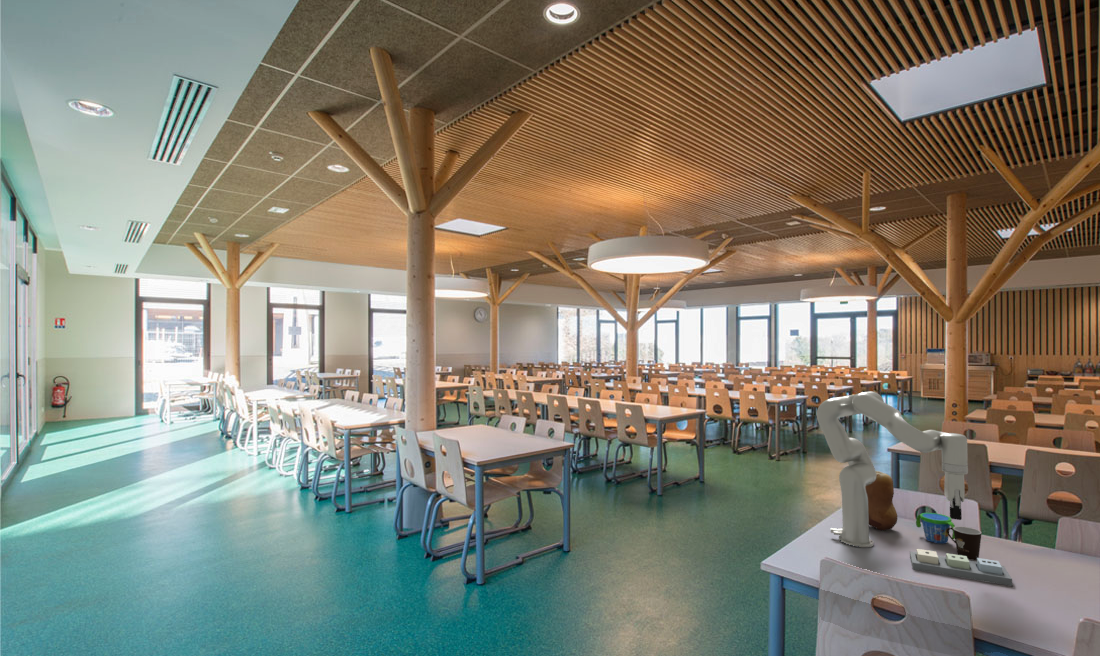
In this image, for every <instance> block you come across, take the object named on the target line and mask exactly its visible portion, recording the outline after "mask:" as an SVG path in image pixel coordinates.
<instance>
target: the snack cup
mask: <svg viewBox="0 0 1100 656" xmlns="http://www.w3.org/2000/svg"><path fill="white" fill-rule="evenodd" d="M921 522H922V524H921ZM915 525H916V527H917V528H921V527H923V533H924V538H925V540H926V541H928V542H930V543H934V544H944V545H945V544H947V543H948V541H949V538H950V537H949V535H948V534H947V529H948V528H954V527H956V526H955V524H954V523H953V522H952V519H951V518H950V516H948V515H946V514H941V513H937V512H936V513H935V512H922V513H920V514H918V515H917V517H916V519H915ZM951 530H952V529H951ZM951 532H952V535H951V537H952V538H953V539H954V540H955V536H954V531H953V530H952V531H951Z"/></svg>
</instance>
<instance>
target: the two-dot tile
mask: <svg viewBox="0 0 1100 656" xmlns="http://www.w3.org/2000/svg"><path fill="white" fill-rule="evenodd" d="M945 557H946V564H947V566H951V567H957V568H963V569H970V562H969V560H970V559H968V558H967V556H962V555H958V554H953V553H945Z"/></svg>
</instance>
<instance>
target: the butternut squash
mask: <svg viewBox="0 0 1100 656" xmlns="http://www.w3.org/2000/svg"><path fill="white" fill-rule="evenodd" d="M875 471H876V480H875V481H874V482H873V483H872V484H870V485H868V486H865V488H866V493H867V497H868V513H869V527H870V526H871V527H872V528H874V529H875V530H877V529H878V530H879V531H882V530H883V531H889V530H891V529H893V528H894V527H895V526H896V525H897V523H898V513H897V510H896V507H895V505H894V503H893V498H894V495H895V492H894V488H895V487H894V481H893V478H892V477H891V476H890V475H889V474H887V473H885V472H882V471H878V470H875ZM883 531H882V532H883Z"/></svg>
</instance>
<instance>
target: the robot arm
mask: <svg viewBox="0 0 1100 656" xmlns="http://www.w3.org/2000/svg"><path fill="white" fill-rule="evenodd" d="M855 415H863V416H865V417H866V418H868V419H870V420H872V421H874V422H875V423H877V424H878V425H879V426H882V427H884V428H885V429H886V430H887V431H888V432H889V433H890V434H891V435H892V436H893V437H894V438H895V439H897V440H898V441H899V442H901V443H902V444H904V445H906V446H908V447H909V448H911V449H913V450H915V451H916V452H920V453H924V454H926V453H927V454H928V453H931V452H934V451H935V452H936V451H941V471H942V472H944V485H943V486H944V487H943V488H944V489H943V490H944V491H943V492H944V493H943V494H944V496H945V499H946V500H947V501H948V502H949V505H950V506H949V517H950V518H951V520H956V521H957V520H958V521H961V520H963V519H962V515H963V514H962V503H963V502H965V495H966V494H965V493H966V492H965V475H968V473H969V468H968V467H969V466H968V465H969V463H968V458H969V457H968V456H969V455H968V439H967V437H966V435H964V434H961V433H953V432H949V433H948V432H944V431H940V430H935V429H927V430H923V431H922V430H920V429H918V428H916V427H915V426H913V425H911V424H910V423H909V422H907V421H906V420H905V419H904V418H903V416H902V413H901V411H900V410H899V409H897V408H895V407H894V406H892V405H889V404H888V403H887V402H885V401H884V398H883V397H882V396H881V395H880V394H879V393H878V392H875V391H864V392H863V391H862V392H860V393H859V392H858V393H856V394H850V395H844V396H839V397H837V396H836V397H831V398H828V399H826V400H824V401H822V403H820V405H819V406H818V408H817V410H816V419H817V422H818V425H819V427H820V429H821V431H822V433H823V435H824V438H825V440H826V443H827V446H828V448H829V449H830V452H831V455H832V457H833V458H834V460H836V462H837V463H838V462H839V463H843V464H844V463H845V464H848V465H847V466H845V467H844V468H842V469H841V471H840V472H839V475H838V477H839V479H838V481H839V486H840V490H841V492H840V493H841V512H842V514H841V516H842V517H841V518H842V527H841V528H838V529H837V528H832V527H831V528H830V533H831V534H833V535H835V536H838V540H839V541H840V540H841V541H842V542H844V543H847V544H850V545H854V546H859V547H858V548H872V547H873V546H874V544H875V542H874V540H873V539H872V538H870V525H869V513H868V497H867V493H866V488H865V486H868V485H870V484H872V483H873V482H874V481H875V480H876V471H877V470H876V468H875V465H874V464H873V462H872V459H871V457H870V455H869V453H868V451H867V449H866V447H865V445H864V444H863V443H862V442H861V441H860V440H859V439H857V438H854V437H849V435H848V434H847V431H846V429H845V427H844V425H843V424H842V423H841V421H840V420H839V419H840V418H843V417H844V418H845V417H849V416H855ZM841 541H840V542H841ZM842 542H841V543H842ZM844 543H843V544H844ZM847 544H846V545H847ZM850 545H849V546H850ZM854 546H853V547H854Z"/></svg>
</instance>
